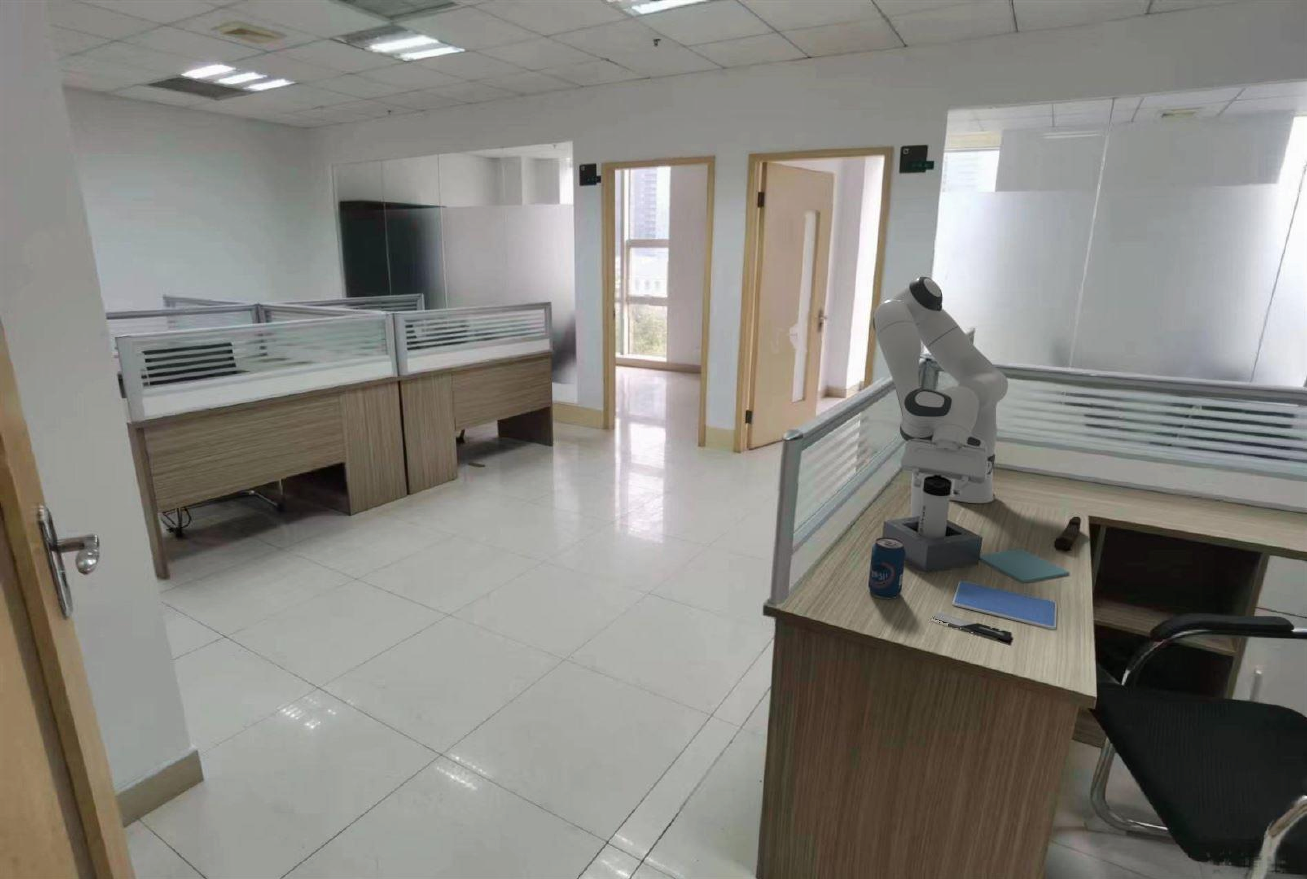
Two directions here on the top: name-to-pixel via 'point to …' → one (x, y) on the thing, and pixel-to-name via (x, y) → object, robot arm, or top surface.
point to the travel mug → (934, 507)
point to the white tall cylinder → (917, 495)
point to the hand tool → (1068, 535)
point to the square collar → (935, 545)
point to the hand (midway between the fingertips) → (936, 489)
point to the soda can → (887, 567)
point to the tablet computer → (1006, 604)
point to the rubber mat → (1022, 565)
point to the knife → (976, 628)
